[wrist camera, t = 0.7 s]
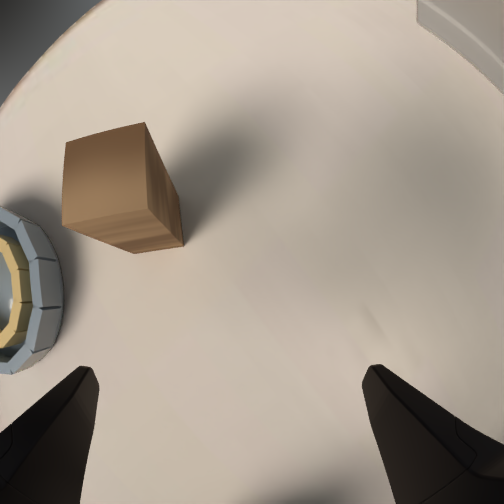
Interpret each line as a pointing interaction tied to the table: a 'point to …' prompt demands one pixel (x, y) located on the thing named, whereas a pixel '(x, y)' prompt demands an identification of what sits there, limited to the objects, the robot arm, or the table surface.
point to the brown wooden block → (120, 191)
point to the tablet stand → (469, 32)
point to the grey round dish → (27, 293)
